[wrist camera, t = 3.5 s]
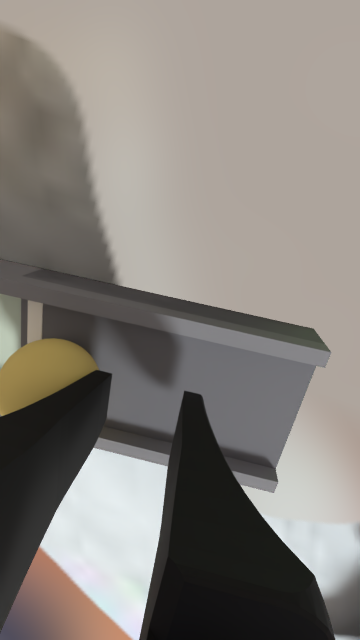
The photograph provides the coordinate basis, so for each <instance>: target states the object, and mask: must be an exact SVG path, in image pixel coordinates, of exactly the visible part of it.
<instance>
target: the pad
mask: <svg viewBox="0 0 360 640" xmlns="http://www.w3.org/2000/svg"><path fill="white" fill-rule="evenodd" d="M20 348H21V298H17V297H13V296H8V295H4V294H0V370H1V368H2V367H3V365H4V363H5V362H6V361H7V360H8V358H9V357H10V356H11V355H12V354H13V353H14V352H16V351H17V350H18V349H20Z"/></svg>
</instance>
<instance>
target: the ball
mask: <svg viewBox="0 0 360 640" xmlns="http://www.w3.org/2000/svg"><path fill="white" fill-rule="evenodd" d="M95 370H99V369H98V366H97V364H96V362H95V361H94V359H93V358H92V356H91V355H90V354H89V353H88V352H87V351H86V350H85V349H84V348H82V347H81V346H79V345H77V344H75V343H73V342H71V341H68V340H64V339H57V338H50V339H41V340H37V341H34V342H31V343H29V344H26V345H25V346H23V347H21V348H20V349H18V350H17V351H16V352H14V353H13V354H12V355H11V356H10V357H9V358H8V360H7V361H6V362H5V363H4V365H3V367H2V368H1V370H0V414H1V416H4V415H6V414H9V413H12V412H14V411H17V410H19V409H21V408H24V407H26V406H28V405H31V404H33V403H35V402H37V401H39V400H41V399H43V398H45V397H47V396H49V395H51V394H53V393H55V392H57V391H59V390H61V389H63V388H65V387H66V386H68V385H70V384H72V383H74V382H75V381H77V380H79V379H81V378H82V377H84V376H86V375H88V374H89V373H91V372H93V371H95Z"/></svg>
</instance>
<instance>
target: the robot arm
mask: <svg viewBox="0 0 360 640" xmlns="http://www.w3.org/2000/svg"><path fill="white" fill-rule="evenodd" d="M111 380H112V373H108V372H104V371H100V370H95V371H93V372H91V373H89V374H88V375H86V376H84V377H82V378H81V379H79V380H77V381H75V382H74V383H72V384H70V385H68V386H66V387H65V388H63V389H61V390H59V391H57V392H55V393H53V394H51V395H49V396H47V397H45V398H43V399H41V400H39V401H37V402H35V403H33V404H31V405H28V406H26V407H24V408H21V409H19V410H17V411H14V412H12V413H9V414H6V415H4V416H1V417H0V632H1V630H2V627H3V625H4V623H5V621H6V618H7V616H8V614H9V611H10V609H11V607H12V605H13V602H14V600H15V598H16V596H17V594H18V591H19V589H20V587H21V585H22V582H23V580H24V578H25V576H26V574H27V571H28V569H29V567H30V565H31V563H32V560H33V558H34V556H35V554H36V552H37V550H38V548H39V546H40V543H41V541H42V539H43V537H44V535H45V533H46V531H47V529H48V527H49V525H50V523H51V520H52V518H53V516H54V514H55V512H56V510H57V508H58V507H59V505H60V503H61V501H62V499H63V498H64V496H65V494H66V493H67V491H68V489H69V488H70V486H71V484H72V483H73V481H74V479H75V478H76V476H77V474H78V473H79V471H80V469H81V468H82V466H83V464H84V463H85V461H86V459H87V457H88V456H89V454H90V452H91V451H92V449H93V447H94V446H95V444H96V442H97V440H98V437H99V435H100V433H101V431H102V428H103V426H104V424H105V421H106V419H107V411H108V404H109V396H110V388H111ZM139 640H335V637H334V634H333V630H332V626H331V622H330V618H329V615H328V612H327V609H326V606H325V603H324V600H323V597H322V595H321V592H320V589H319V587H318V584H317V581H316V578H315V576H314V574H313V573H312V572H311V571H310V570H309V569H308V568H307V567H306V566H305V565H304V564H303V563H302V562H301V561H300V559H299V558H298V557H297V556H296V555H295V554H294V553H293V552H292V551H291V550H290V549H289V548H288V547H287V546H286V545H285V543H284V542H283V541H282V540H281V539H280V538H279V537H278V535H277V534H276V533H275V532H274V531H273V529H272V528H271V527H270V526H269V525H268V523H267V522H266V521H265V520H264V518H263V517H262V516H261V514H260V513H259V512H258V510H257V509H256V507H255V506H254V505H253V503H252V502H251V501H250V499H249V498H248V496H247V495H246V494H245V492H244V490H243V489H242V487H241V486H240V484H239V483H238V481H237V479H236V478H235V476H234V474H233V472H232V471H231V469H230V467H229V465H228V463H227V461H226V459H225V457H224V455H223V453H222V451H221V449H220V447H219V445H218V442H217V440H216V438H215V435H214V433H213V430H212V427H211V425H210V422H209V419H208V416H207V413H206V409H205V405H204V400H203V397H202V395H201V394H197V393H193V392H188V391H184V394H183V399H182V403H181V407H180V412H179V416H178V420H177V425H176V429H175V433H174V438H173V443H172V447H171V452H170V457H169V461H168V470H167V479H166V488H165V497H164V506H163V515H162V524H161V530H160V537H159V543H158V548H157V553H156V558H155V563H154V568H153V573H152V578H151V583H150V588H149V594H148V599H147V604H146V609H145V614H144V619H143V624H142V629H141V634H140V639H139Z"/></svg>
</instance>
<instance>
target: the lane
mask: <svg viewBox="0 0 360 640" xmlns="http://www.w3.org/2000/svg"><path fill="white" fill-rule="evenodd" d="M0 294H4V295H8V296H13V297H17V298H21V347H23V346H25V345H26V344H29V343H31V342H34V341H37V340H41V339H50V338H57V339H64V340H68V341H71V342H73V343H75V344H77V345H79V346H81V347H82V348H84V349H85V350H86V351H87V352H88V353H89V354H90V355H91V356H92V358H93V359H94V361H95V362H96V364H97V366H98V369H99V370H100V371H104V372H108V373H112V380H111V388H110V396H109V404H108V411H107V419H106V421H105V424H104V426H103V428H102V431H101V433H100V435H99V437H98V440H97V442H96V444H95V446H94V447H93V448H97V449H101V450H105V451H109V452H113V453H117V454H121V455H125V456H129V457H133V458H137V459H141V460H145V461H149V462H153V463H157V464H161V465H165V466H168V461H169V457H170V452H171V447H172V443H173V438H174V433H175V429H176V425H177V420H178V416H179V412H180V407H181V403H182V399H183V394H184V391H188V392H193V393H197V394H201V395H202V397H203V400H204V405H205V409H206V413H207V416H208V419H209V422H210V425H211V427H212V430H213V433H214V435H215V438H216V440H217V442H218V445H219V447H220V449H221V451H222V453H223V455H224V457H225V459H226V461H227V463H228V465H229V467H230V469H231V471H232V472H233V474H234V476H235V478H236V479H237V481H238V483H239V484H240V485H244V486H248V487H252V488H256V489H260V490H264V491H268V492H272V493H274V491H275V489H276V486H277V484H278V479H277V474H276V466H277V464H278V461H279V459H280V456H281V454H282V451H283V448H284V446H285V443H286V441H287V438H288V436H289V433H290V431H291V428H292V426H293V423H294V421H295V418H296V415H297V413H298V411H299V408H300V405H301V403H302V401H303V398H304V396H305V393H306V390H307V388H308V385H309V383H310V380H311V378H312V375H313V373H314V370H315V368H316V366H320V367H325V366H326V364H327V362H328V359H329V357H330V354H331V352H330V350H329V349H328V347H327V346H326V345H325V343H324V342H323V341H322V340H321V338H320V337H319V336H318V334H317V333H316V331H315V330H314V329H312V328H307V327H303V326H298V325H294V324H289V323H285V322H280V321H275V320H271V319H267V318H262V317H258V316H253V315H249V314H244V313H240V312H235V311H231V310H226V309H222V308H217V307H212V306H208V305H204V304H199V303H195V302H190V301H186V300H181V299H177V298H172V297H168V296H163V295H159V294H154V293H150V292H145V291H141V290H136V289H132V288H127V287H123V286H118V285H114V284H109V283H105V282H100V281H96V280H91V279H87V278H82V277H78V276H73V275H69V274H64V273H60V272H55V271H51V270H46V269H42V268H37V267H33V266H28V265H24V264H19V263H15V262H10V261H6V260H1V259H0ZM0 417H1V414H0Z"/></svg>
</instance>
